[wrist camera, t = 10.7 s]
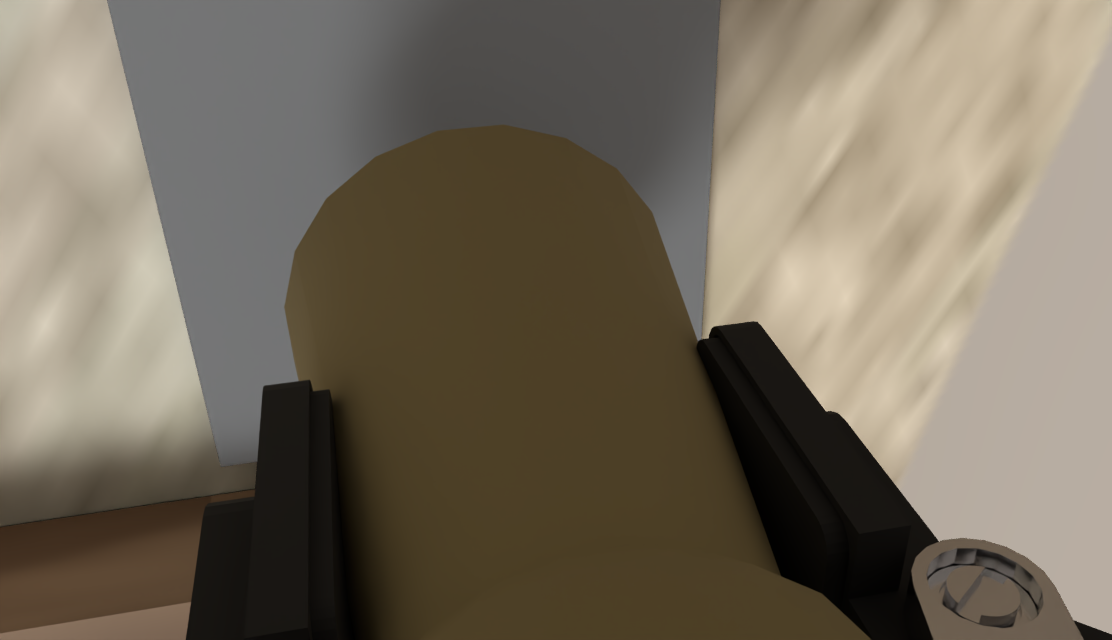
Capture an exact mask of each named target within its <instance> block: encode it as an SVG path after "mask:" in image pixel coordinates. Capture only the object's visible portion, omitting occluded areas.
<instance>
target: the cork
mask: <svg viewBox="0 0 1112 640" xmlns="http://www.w3.org/2000/svg"><path fill="white" fill-rule="evenodd" d="M284 309H285V314H286V319H287V325H288V330H289V336H290V341H291V346H292V352H293V357H294V362H295V367H296V371H297V376H298V381H303V380H310V381H311V384H312V388H313V391H318V390H326V389H329V390H330V393H331V398H332V407H333V423H334V436H335V448H336V461H337V473H338V485H339V498H340V510H341V523H342V535H343V548H344V560H345V573H346V585H347V598H348V604H349V609H350V615H351V621H352V626H353V632H354V637H355V640H871V639H870V638H869V637H868V636H867V635H866V634H865V633H864V632H863V631H862V630H861V629H860V628H858V627H857V626H856V625H855V624H854V623H853V622H852V621H851V620H850V619H849V618H848V617H847V616H846V615H844V614H843V613H842V612H841V611H840V610H839V609H838V608H837V607H836V606H835V605H834V604H833V603H832V602H830V601H829V600H828V599H827V598H826V597H825V596H824V595H823V594H822V593H819V592H817V591H815V590H812V589H810V588H808V587H805V586H803V585H800V584H798V583H796V582H793V581H791V580H789V579H786V578H784V577H781V574H780V572H779V569H778V566H777V563H776V560H775V557H774V555H773V552H772V549H771V546H770V543H769V540H768V538H767V535H766V532H765V529H764V526H763V524H762V521H761V518H760V515H759V512H758V509H757V507H756V504H755V501H754V498H753V495H752V493H751V490H750V487H749V484H748V481H747V478H746V476H745V473H744V470H743V467H742V464H741V461H740V459H739V456H738V453H737V450H736V447H735V445H734V442H733V439H732V436H731V433H730V430H729V428H728V425H727V422H726V419H725V416H724V413H723V411H722V408H721V405H720V402H719V399H718V397H717V394H716V391H715V389H714V387H713V384H712V382H711V380H710V378H709V375H708V373H707V371H706V368H705V366H704V364H703V362H702V359H701V357H700V355H699V353H698V350H697V348H696V347H697V343H698V340H697V337H696V334H695V332H694V329H693V326H692V323H691V320H690V317H689V315H688V312H687V309H686V306H685V303H684V301H683V298H682V295H681V292H680V289H679V286H678V284H677V281H676V278H675V275H674V272H673V270H672V267H671V264H670V261H669V258H668V255H667V253H666V250H665V247H664V244H663V241H662V238H661V236H660V233H659V230H658V227H657V224H656V222H655V219H654V216H653V213H652V211H651V210H650V209H649V207H648V206H647V205H646V204H645V202H644V201H643V200H642V199H641V198H640V196H639V195H638V194H637V193H636V191H635V190H634V189H633V188H632V186H631V185H630V184H629V183H628V182H627V180H626V179H625V178H624V177H623V175H622V174H621V173H620V172H619V170H618V169H617V168H615V167H613V166H612V165H610V164H608V163H607V162H605V161H603V160H602V159H600V158H598V157H597V156H595V155H593V154H592V153H590V152H588V151H587V150H585V149H583V148H582V147H580V146H578V145H577V144H575V143H574V142H572V141H570V140H569V139H567V138H564V137H559V136H554V135H550V134H545V133H541V132H536V131H531V130H527V129H522V128H518V127H513V126H509V125H504V124H503V125H493V126H482V127H472V128H461V129H450V130H440V131H436V132H433V133H431V134H428V135H426V136H424V137H421V138H419V139H416V140H414V141H412V142H409V143H407V144H404V145H402V146H400V147H397V148H395V149H392V150H390V151H388V152H385V153H383V154H380V155H378V156H376V157H374V158H373V159H372V160H371V161H370V162H369V163H367V164H366V165H365V166H364V167H363V168H361V169H360V170H359V171H358V172H357V173H356V174H354V175H353V176H352V177H351V178H350V179H349V180H347V181H346V182H345V183H344V184H343V185H341V186H340V187H339V188H338V189H337V190H336V191H334V192H333V193H332V194H331V195H330V196H329V197H327V198H326V200H325V201H324V203H323V205H322V206H321V208H320V210H319V211H318V213H317V215H316V216H315V218H314V220H313V221H312V223H311V225H310V226H309V228H308V230H307V231H306V233H305V235H304V236H303V238H302V240H301V241H300V243H299V245H298V246H297V248H296V250H295V252H294V258H293V263H292V268H291V274H290V279H289V284H288V290H287V295H286V300H285V306H284Z"/></svg>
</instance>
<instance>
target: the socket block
mask: <svg viewBox="0 0 1112 640" xmlns="http://www.w3.org/2000/svg"><path fill="white" fill-rule="evenodd" d="M254 496H255V489H254V490H247V491H241V492H234V493H227V494H220V495H214V496H207V497H200V498H194V499H187V500H180V501H173V502H167V503H160V504H153V505H147V506H140V507H133V508H126V509H120V510H113V511H106V512H99V513H93V514H86V515H79V516H73V517H66V518H59V519H52V520H46V521H39V522H32V523H26V524H19V525H12V526H5V527H0V640H186V634H187V627H188V620H189V613H190V605H191V598H192V591H193V584H194V577H195V569H196V562H197V555H198V548H199V541H200V533H201V526H202V519H203V514H204V509H205V506H206V505H207V504H208V503H213V502H220V501H227V500H233V499H240V498H247V497H254Z"/></svg>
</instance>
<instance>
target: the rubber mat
mask: <svg viewBox="0 0 1112 640" xmlns="http://www.w3.org/2000/svg"><path fill="white" fill-rule="evenodd" d="M720 1H721V0H107V2H108V6H109V10H110V14H111V18H112V23H113V27H114V31H115V35H116V39H117V43H118V47H119V51H120V55H121V59H122V64H123V68H124V72H125V76H126V80H127V84H128V88H129V92H130V96H131V101H132V105H133V109H134V113H135V117H136V121H137V125H138V129H139V133H140V137H141V142H142V146H143V150H144V154H145V158H146V162H147V166H148V170H149V174H150V178H151V183H152V187H153V191H154V195H155V199H156V203H157V207H158V211H159V215H160V219H161V224H162V228H163V232H164V236H165V240H166V244H167V248H168V252H169V256H170V261H171V265H172V269H173V273H174V277H175V281H176V285H177V289H178V293H179V297H180V302H181V306H182V310H183V314H184V318H185V322H186V326H187V330H188V334H189V338H190V343H191V347H192V351H193V355H194V359H195V363H196V367H197V371H198V375H199V380H200V384H201V388H202V392H203V396H204V400H205V404H206V408H207V412H208V416H209V421H210V425H211V429H212V433H213V437H214V441H215V445H216V449H217V453H218V457H219V462H220V466H221V467H224V466H231V465H238V464H245V463H252V462H257V458H258V444H259V431H260V418H261V404H262V391H263V386H265V385H272V384H280V383H288V382H295V381H298V376H297V371H296V367H295V362H294V357H293V352H292V346H291V341H290V336H289V330H288V325H287V319H286V314H285V309H284V306H285V300H286V295H287V290H288V284H289V279H290V274H291V268H292V263H293V258H294V252H295V250H296V248H297V246H298V245H299V243H300V241H301V240H302V238H303V236H304V235H305V233H306V231H307V230H308V228H309V226H310V225H311V223H312V221H313V220H314V218H315V216H316V215H317V213H318V211H319V210H320V208H321V206H322V205H323V203H324V201H325V200H326V198H327V197H329V196H330V195H331V194H332V193H333V192H334V191H336V190H337V189H338V188H339V187H340V186H341V185H343V184H344V183H345V182H346V181H347V180H349V179H350V178H351V177H352V176H353V175H354V174H356V173H357V172H358V171H359V170H360V169H361V168H363V167H364V166H365V165H366V164H367V163H369V162H370V161H371V160H372V159H373V158H374V157H376V156H378V155H380V154H383V153H385V152H388V151H390V150H392V149H395V148H397V147H400V146H402V145H404V144H407V143H409V142H412V141H414V140H416V139H419V138H421V137H424V136H426V135H428V134H431V133H433V132H436V131H440V130H450V129H461V128H472V127H482V126H493V125H503V124H504V125H509V126H513V127H518V128H522V129H527V130H531V131H536V132H541V133H545V134H550V135H554V136H559V137H564V138H567V139H569V140H570V141H572V142H574V143H575V144H577V145H578V146H580V147H582V148H583V149H585V150H587V151H588V152H590V153H592V154H593V155H595V156H597V157H598V158H600V159H602V160H603V161H605V162H607V163H608V164H610V165H612V166H613V167H615V168H617V169H618V170H619V172H620V173H621V174H622V175H623V177H624V178H625V179H626V180H627V182H628V183H629V184H630V185H631V186H632V188H633V189H634V190H635V191H636V193H637V194H638V195H639V196H640V198H641V199H642V200H643V201H644V202H645V204H646V205H647V206H648V207H649V209H650V210H651V211H652V213H653V216H654V219H655V222H656V224H657V227H658V230H659V233H660V236H661V238H662V241H663V244H664V247H665V250H666V253H667V255H668V258H669V261H670V264H671V267H672V270H673V272H674V275H675V278H676V281H677V284H678V286H679V289H680V292H681V295H682V298H683V301H684V303H685V306H686V309H687V312H688V315H689V317H690V320H691V323H692V326H693V329H694V332H695V334H696V337H697V340H698V341H699V340H701V335H702V317H703V300H704V282H705V264H706V247H707V229H708V212H709V194H710V177H711V159H712V142H713V124H714V107H715V89H716V71H717V54H718V36H719V19H720Z"/></svg>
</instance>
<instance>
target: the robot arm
mask: <svg viewBox="0 0 1112 640" xmlns="http://www.w3.org/2000/svg"><path fill="white" fill-rule="evenodd" d="M696 348H697V350H698V353H699V355H700V357H701V359H702V362H703V364H704V366H705V368H706V371H707V373H708V375H709V378H710V380H711V382H712V384H713V387H714V389H715V391H716V394H717V397H718V399H719V402H720V405H721V408H722V411H723V413H724V416H725V419H726V422H727V425H728V428H729V430H730V433H731V436H732V439H733V442H734V445H735V447H736V450H737V453H738V456H739V459H740V461H741V464H742V467H743V470H744V473H745V476H746V478H747V481H748V484H749V487H750V490H751V493H752V495H753V498H754V501H755V504H756V507H757V509H758V512H759V515H760V518H761V521H762V524H763V526H764V529H765V532H766V535H767V538H768V540H769V543H770V546H771V549H772V552H773V555H774V557H775V560H776V563H777V566H778V569H779V572H780V574H781V577H784V578H786V579H789V580H791V581H793V582H796V583H798V584H800V585H803V586H805V587H808V588H810V589H812V590H815V591H817V592H819V593H822V594H823V595H824V596H825V597H826V598H827V599H828V600H829V601H830V602H832V603H833V604H834V605H835V606H836V607H837V608H838V609H839V610H840V611H841V612H842V613H843V614H844V615H846V616H847V617H848V618H849V619H850V620H851V621H852V622H853V623H854V624H855V625H856V626H857V627H858V628H860V629H861V630H862V631H863V632H864V633H865V634H866V635H867V636H868V637H869V638H870V639H871V640H1112V634H1109V633H1106V632H1103V631H1101V630H1098V629H1095V628H1092V627H1090V626H1087V625H1085V624H1082V623H1079V622H1077V621H1074V620H1073V619H1072V617H1071V615H1070V613H1069V611H1068V609H1067V607H1066V606H1065V604H1064V602H1063V600H1062V598H1061V596H1060V594H1059V593H1058V591H1057V589H1056V587H1055V585H1054V584H1053V583H1052V581H1051V580H1050V579H1049V577H1048V576H1047V575H1046V573H1045V572H1044V571H1043V570H1042V569H1041V568H1039V567H1038V566H1037V565H1036V564H1034V563H1033V562H1032V561H1031V560H1029V559H1028V558H1026V557H1025V556H1023V555H1021V554H1019V553H1017V552H1015V551H1013V550H1011V549H1009V548H1007V547H1005V546H1002V545H998V544H995V543H992V542H988V541H985V540H977V539H967V538H958V539H949V540H942V541H940V542H939V541H938V540H937V538H936V537H935V536H934V535H933V533H932V532H931V531H930V529H929V528H928V527H927V525H926V524H925V523H924V522H923V520H922V519H921V518H920V516H919V515H918V514H917V513H916V511H915V510H914V509H913V508H912V506H911V505H910V503H909V502H908V501H907V500H906V498H905V497H904V496H903V494H902V493H901V492H900V490H899V489H898V488H897V487H896V485H895V484H894V483H893V481H892V480H891V479H890V478H889V476H888V475H887V474H886V472H885V471H884V470H883V468H882V467H881V466H880V465H879V463H878V462H877V461H876V459H875V458H874V457H873V456H872V454H871V453H870V452H869V450H868V449H867V448H866V446H865V445H864V444H863V443H862V441H861V440H860V439H859V437H858V436H857V435H856V434H855V432H854V431H853V430H852V428H851V427H850V426H849V424H848V423H847V422H846V421H845V420H844V419H843V418H842V417H841V416H840V415H839V414H838V413H836V412H832V411H828V412H826V411H825V410H824V408H823V407H822V406H821V404H820V403H819V402H818V400H817V399H816V398H815V397H814V395H813V394H812V393H811V391H810V390H809V389H808V387H807V386H806V385H805V383H804V382H803V381H802V379H801V378H800V377H799V375H798V374H797V373H796V371H795V370H794V369H793V367H792V366H791V365H790V363H789V362H788V361H787V359H786V358H785V357H784V355H783V354H782V353H781V351H780V350H779V349H778V347H777V346H776V345H775V343H774V342H773V341H772V339H771V338H770V337H769V335H768V334H767V333H766V332H765V330H764V329H763V328H762V326H761V325H760V324H759V323H758V322H754V321H753V322H745V323H738V324H730V325H723V326H715V327H713V328H712V329H711V331H710V334H709V339H702V340H699V341H698V343H697V347H696ZM186 640H355V637H354V632H353V626H352V621H351V615H350V609H349V604H348V598H347V585H346V573H345V560H344V548H343V535H342V523H341V510H340V498H339V485H338V473H337V461H336V448H335V436H334V423H333V407H332V398H331V393H330V390H329V389H326V390H318V391H313V388H312V384H311V381H310V380H303V381H295V382H288V383H280V384H272V385H265V386H263V391H262V404H261V418H260V431H259V444H258V458H257V471H256V485H255V496H254V497H247V498H240V499H233V500H227V501H220V502H213V503H208V504H207V505H206V506H205V509H204V514H203V519H202V526H201V533H200V541H199V548H198V555H197V562H196V569H195V577H194V584H193V591H192V598H191V605H190V613H189V620H188V627H187V634H186Z"/></svg>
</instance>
